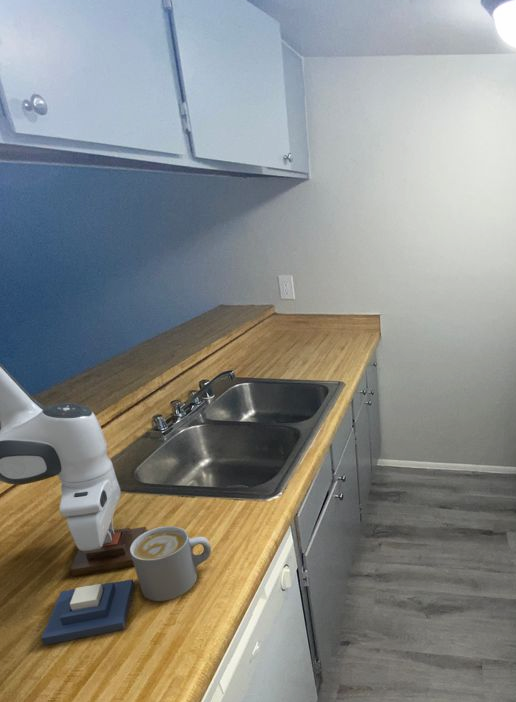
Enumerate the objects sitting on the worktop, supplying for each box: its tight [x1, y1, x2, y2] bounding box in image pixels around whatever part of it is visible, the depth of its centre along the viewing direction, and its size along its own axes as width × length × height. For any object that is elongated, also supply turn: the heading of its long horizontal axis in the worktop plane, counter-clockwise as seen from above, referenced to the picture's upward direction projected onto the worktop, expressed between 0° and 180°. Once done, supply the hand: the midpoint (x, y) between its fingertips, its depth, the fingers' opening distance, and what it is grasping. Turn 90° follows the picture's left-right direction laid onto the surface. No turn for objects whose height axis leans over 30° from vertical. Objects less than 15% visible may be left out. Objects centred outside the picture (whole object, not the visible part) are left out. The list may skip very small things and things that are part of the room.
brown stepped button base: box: [70, 526, 148, 577], centre depth 99 cm, size 12×11×4 cm
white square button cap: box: [70, 583, 103, 611], centre depth 84 cm, size 4×4×2 cm
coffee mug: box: [130, 525, 212, 602], centre depth 92 cm, size 13×10×10 cm
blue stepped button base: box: [40, 578, 135, 646], centre depth 85 cm, size 12×11×4 cm
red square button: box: [101, 532, 121, 548], centre depth 99 cm, size 4×4×2 cm
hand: (108, 539), depth 98 cm, fingers closed, pressing on red square button
